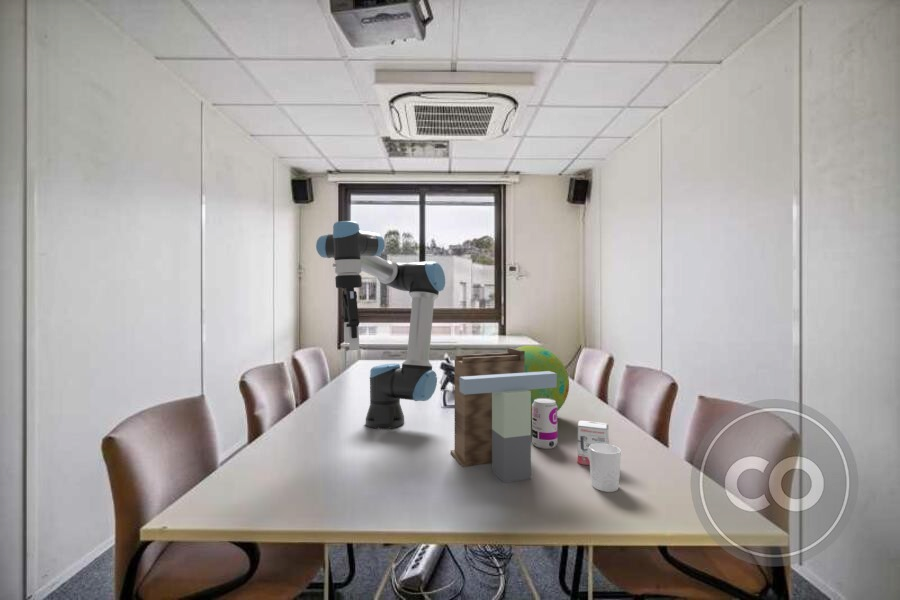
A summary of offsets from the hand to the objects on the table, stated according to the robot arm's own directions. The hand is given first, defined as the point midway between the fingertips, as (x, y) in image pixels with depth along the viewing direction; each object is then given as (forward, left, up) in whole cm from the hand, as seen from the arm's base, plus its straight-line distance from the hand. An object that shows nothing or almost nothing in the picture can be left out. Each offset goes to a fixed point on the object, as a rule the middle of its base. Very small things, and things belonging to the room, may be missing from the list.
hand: (351, 346), depth 124 cm
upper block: (+10, +46, -23) cm, 52 cm away
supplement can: (-12, +62, -35) cm, 72 cm away
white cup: (+19, +69, -35) cm, 80 cm away
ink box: (+4, +72, -35) cm, 80 cm away
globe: (-42, +65, -35) cm, 85 cm away
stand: (-4, +42, -35) cm, 55 cm away
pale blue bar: (+10, +45, -11) cm, 48 cm away
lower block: (+10, +46, -35) cm, 59 cm away
